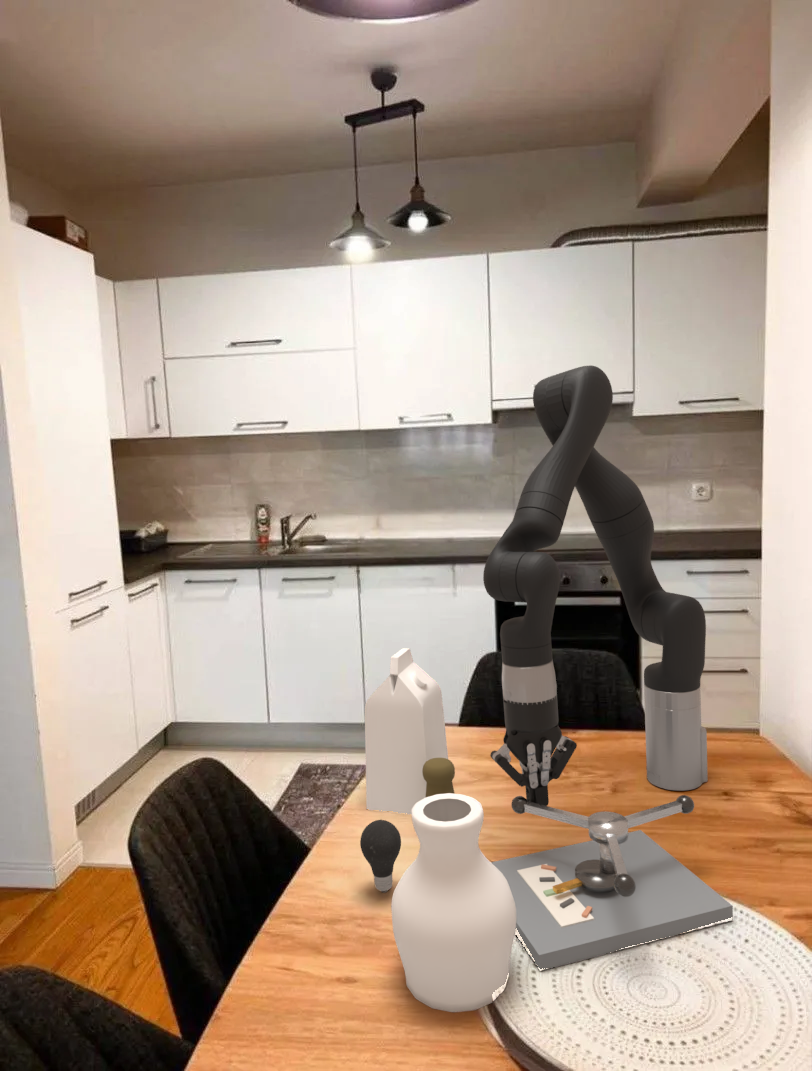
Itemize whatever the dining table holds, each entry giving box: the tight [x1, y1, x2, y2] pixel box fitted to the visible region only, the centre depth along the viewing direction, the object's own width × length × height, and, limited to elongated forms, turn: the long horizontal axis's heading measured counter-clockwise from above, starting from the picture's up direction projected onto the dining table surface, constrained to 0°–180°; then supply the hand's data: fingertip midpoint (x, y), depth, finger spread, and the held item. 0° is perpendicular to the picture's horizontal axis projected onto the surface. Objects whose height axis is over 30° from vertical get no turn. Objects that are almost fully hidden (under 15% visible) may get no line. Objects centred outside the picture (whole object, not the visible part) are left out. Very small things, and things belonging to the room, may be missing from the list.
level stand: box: [490, 829, 734, 969], centre depth 98 cm, size 26×20×2 cm
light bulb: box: [359, 819, 402, 894], centre depth 103 cm, size 6×6×10 cm
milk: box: [364, 647, 449, 815], centre depth 129 cm, size 12×12×26 cm
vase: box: [391, 793, 517, 1013], centre depth 85 cm, size 14×14×20 cm
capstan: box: [511, 794, 695, 897], centre depth 99 cm, size 23×25×8 cm
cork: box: [422, 758, 456, 797], centre depth 119 cm, size 6×6×11 cm
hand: (537, 809), depth 107 cm, fingers closed
